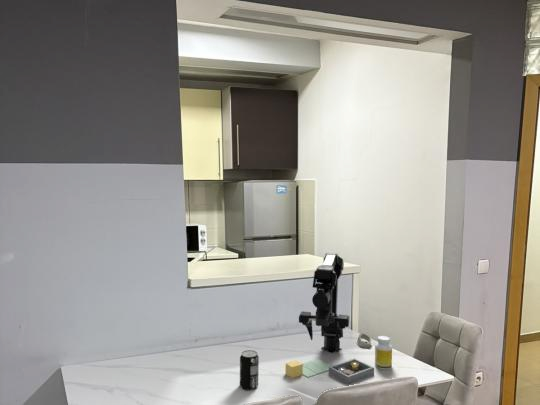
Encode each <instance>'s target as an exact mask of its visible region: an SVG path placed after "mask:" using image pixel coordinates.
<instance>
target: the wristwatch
mask: <svg viewBox="0 0 540 405" xmlns="http://www.w3.org/2000/svg"><path fill="white" fill-rule="evenodd" d="M362 339H363V340H366V341H367V342H366V341H365V342H364V341H363V340H362ZM371 343H372V338H371V337H370V336H369V335H367V334H366V333H363V332H360V333H359V334H358V338H357V342H356V344H357V346H359V347H361V348H363V349H368V348H370V347H371ZM369 346H370V347H369ZM367 347H368V348H367Z"/></svg>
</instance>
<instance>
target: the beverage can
mask: <svg viewBox="0 0 540 405" xmlns="http://www.w3.org/2000/svg"><path fill="white" fill-rule="evenodd" d="M259 360H260V359H259V355H258V352H257V351H256V350H250V349H247V350H243V351H241V353H240V357H239V387H240V388H241V389H242V390H244V391H253V390H256V389H257V387H258V386H259V369H260V368H259V364H260V363H259Z"/></svg>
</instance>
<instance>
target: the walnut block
mask: <svg viewBox="0 0 540 405" xmlns="http://www.w3.org/2000/svg"><path fill="white" fill-rule="evenodd" d="M343 373H344V374H346V375H351V374H354V372H353V371H350V370H346V371H344V372H343Z"/></svg>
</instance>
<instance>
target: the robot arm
mask: <svg viewBox="0 0 540 405" xmlns="http://www.w3.org/2000/svg"><path fill="white" fill-rule="evenodd" d="M322 262H323V263H322V265H318V266H317V267H316V269H314V274H313V279H312V280H313V281H312V288H314V289H316V291H315V293H314V294H313V296H312V305H313V306H314V307H315V308H316V310H315V315H313V314H312V313H311V311H303V310H302V311H301V312H300V314H299V315H298V323H300V324H301V325H303V326H305V328H306V329H307V332H308V335H309V338H310V340H311V341H313V321H315V326H316V327H320V330H321V331H320V332H321V334H320V335H321V337H323V346H322V347H321V350H323V351H325V352H329V353H331V354H332V353H336V352H339V351H343V350H342V348H340V347H341V346H340V345H341V344H340V343H341V342H340V339H342V338H344V331H343V330H344V329H346V328H349V327H350V316H349V315H348V314H338V292H339V291H338V290H339V279H340V277H341V276H342V274H343V271H344V259H343V258H342V257H341V256H339V253H335V252H326V253H325V254H324V257H323V261H322Z"/></svg>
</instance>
